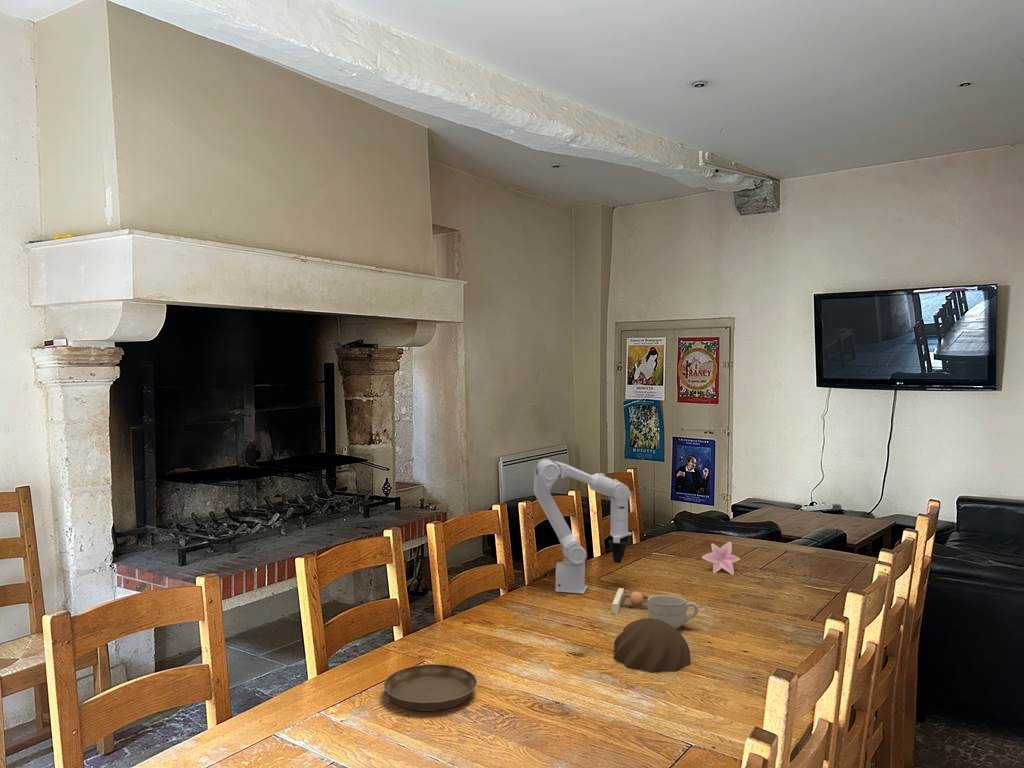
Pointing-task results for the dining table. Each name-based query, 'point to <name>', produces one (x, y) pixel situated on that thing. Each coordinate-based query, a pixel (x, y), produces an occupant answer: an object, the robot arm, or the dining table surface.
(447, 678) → the plant saucer
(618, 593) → the strip
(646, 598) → the tray
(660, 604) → the teacup
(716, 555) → the lily
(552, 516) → the robot arm
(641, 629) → the decorative dome
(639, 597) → the ball
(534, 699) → the dining table surface
